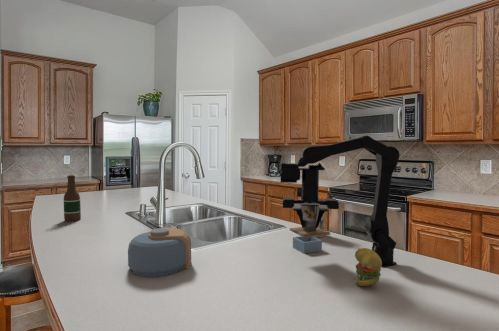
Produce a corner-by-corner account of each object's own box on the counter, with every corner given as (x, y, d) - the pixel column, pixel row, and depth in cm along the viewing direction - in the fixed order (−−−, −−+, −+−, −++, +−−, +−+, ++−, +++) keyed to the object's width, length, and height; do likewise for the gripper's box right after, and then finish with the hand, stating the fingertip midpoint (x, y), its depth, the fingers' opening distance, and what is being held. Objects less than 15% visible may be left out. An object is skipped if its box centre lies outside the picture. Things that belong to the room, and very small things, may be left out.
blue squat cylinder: (201, 266, 106) (201, 230, 105) (142, 283, 92) (141, 242, 92) (173, 252, 120) (173, 220, 119) (119, 265, 107) (118, 229, 106)
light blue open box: (321, 250, 121) (321, 240, 121) (303, 253, 118) (304, 242, 118) (309, 244, 129) (309, 235, 129) (292, 247, 126) (292, 237, 125)
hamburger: (359, 278, 96) (360, 239, 95) (384, 285, 92) (386, 243, 91) (349, 287, 90) (350, 245, 89) (376, 294, 86) (377, 250, 85)
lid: (330, 234, 108) (330, 222, 108) (304, 237, 104) (304, 224, 104) (313, 227, 117) (313, 216, 117) (289, 230, 114) (289, 218, 113)
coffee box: (325, 234, 144) (325, 199, 143) (321, 238, 138) (321, 201, 137) (305, 232, 148) (305, 197, 147) (301, 235, 142) (301, 199, 141)
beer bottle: (65, 219, 173) (63, 175, 171) (81, 218, 176) (79, 174, 174) (63, 222, 165) (61, 176, 164) (80, 221, 169) (79, 175, 167)
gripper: (334, 180, 117) (333, 223, 118) (283, 180, 119) (282, 221, 120) (339, 184, 106) (338, 231, 107) (282, 183, 108) (282, 229, 109)
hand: (309, 227), depth 111 cm, fingers closed on lid, 4 cm apart
